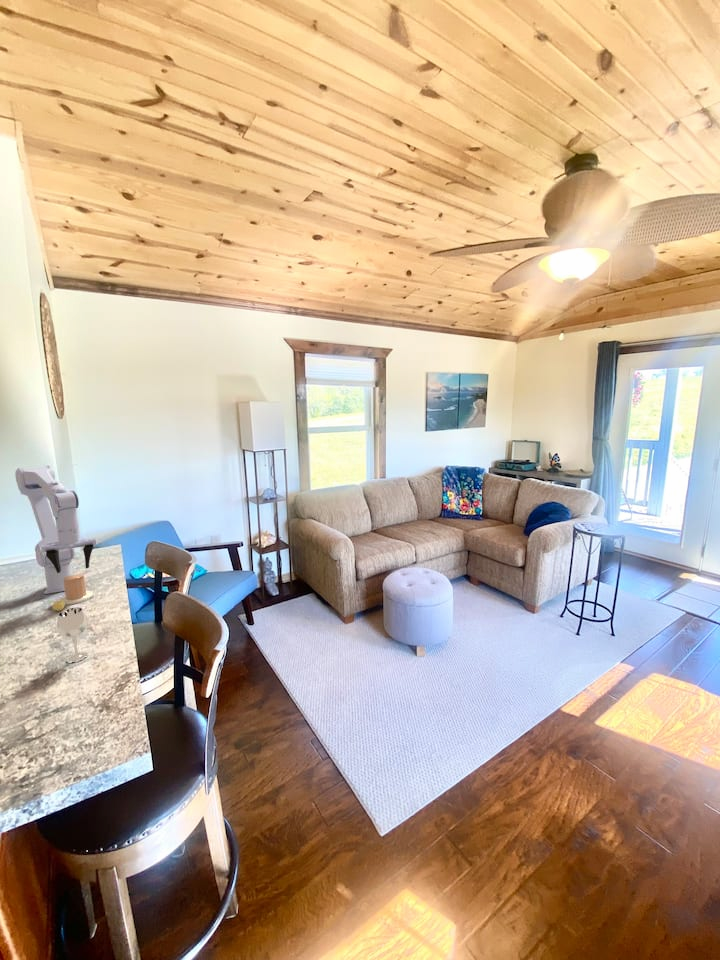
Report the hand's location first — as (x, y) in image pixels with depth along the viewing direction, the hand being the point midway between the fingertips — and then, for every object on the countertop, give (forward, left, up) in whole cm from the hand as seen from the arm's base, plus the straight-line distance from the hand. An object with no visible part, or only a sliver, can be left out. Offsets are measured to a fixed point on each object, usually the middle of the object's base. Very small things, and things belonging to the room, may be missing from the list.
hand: (73, 569), depth 130 cm
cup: (0, 0, -9) cm, 9 cm away
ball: (+8, -4, -10) cm, 13 cm away
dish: (0, 0, -10) cm, 10 cm away
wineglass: (+42, +5, -10) cm, 43 cm away
